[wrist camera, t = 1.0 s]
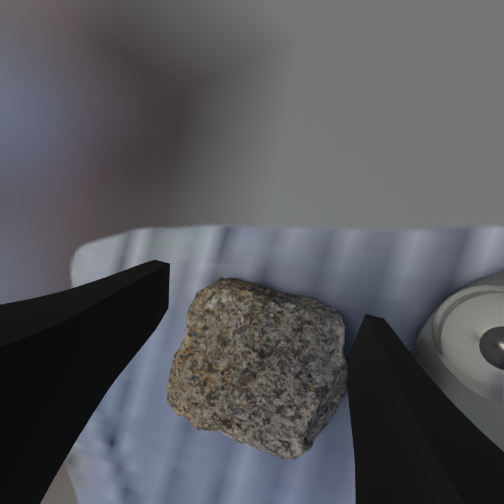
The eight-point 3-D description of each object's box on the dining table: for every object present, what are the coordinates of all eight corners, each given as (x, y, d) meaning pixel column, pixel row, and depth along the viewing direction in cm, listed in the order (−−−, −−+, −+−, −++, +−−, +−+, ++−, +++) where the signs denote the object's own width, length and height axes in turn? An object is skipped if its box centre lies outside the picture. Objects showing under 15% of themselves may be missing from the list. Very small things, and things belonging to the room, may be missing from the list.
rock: (369, 313, 24) (217, 265, 31) (354, 322, 18) (173, 261, 26) (329, 466, 24) (188, 384, 32) (302, 521, 19) (138, 406, 26)
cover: (594, 348, 16) (632, 364, 14) (491, 412, 18) (506, 437, 15) (492, 263, 18) (506, 262, 16) (409, 327, 20) (408, 336, 18)
